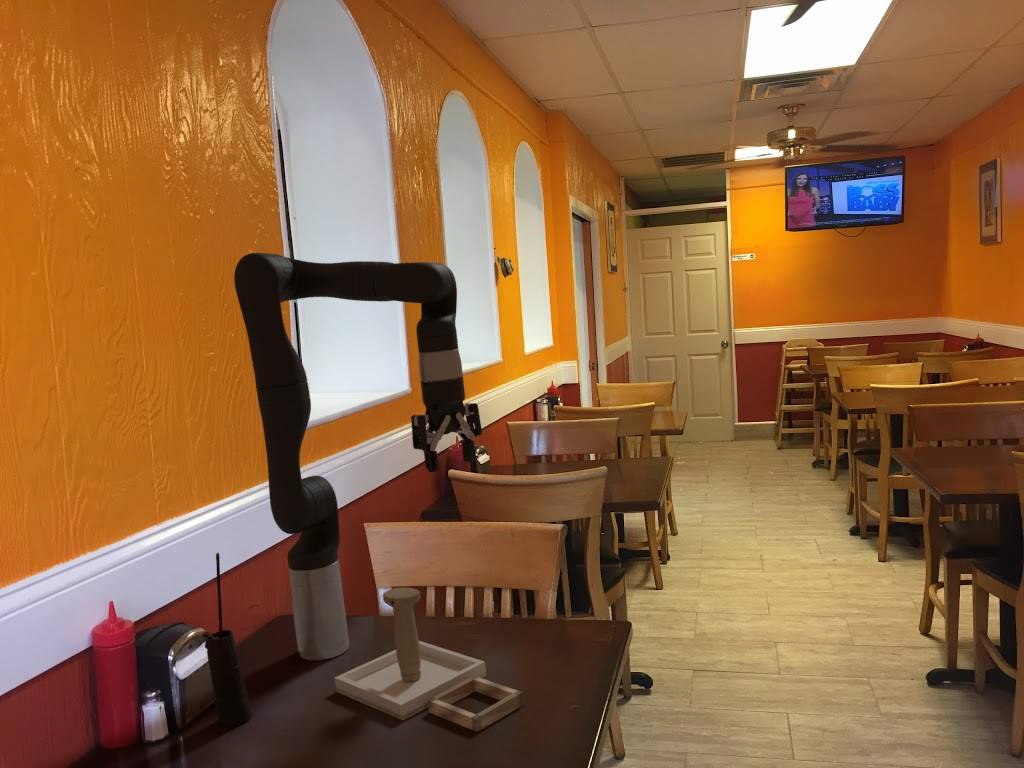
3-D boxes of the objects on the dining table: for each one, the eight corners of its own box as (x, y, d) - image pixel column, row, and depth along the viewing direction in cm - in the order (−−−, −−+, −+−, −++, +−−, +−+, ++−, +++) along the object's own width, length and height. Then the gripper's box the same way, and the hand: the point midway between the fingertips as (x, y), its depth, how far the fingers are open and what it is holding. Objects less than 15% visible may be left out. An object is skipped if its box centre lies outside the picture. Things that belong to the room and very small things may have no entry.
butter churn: (185, 729, 138) (160, 558, 135) (232, 702, 146) (209, 541, 143) (223, 739, 133) (198, 563, 130) (270, 711, 141) (247, 544, 138)
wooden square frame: (429, 712, 135) (427, 700, 135) (475, 687, 142) (474, 675, 142) (477, 732, 127) (475, 719, 127) (523, 704, 134) (522, 692, 134)
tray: (336, 691, 146) (334, 677, 145) (418, 653, 158) (417, 639, 158) (403, 720, 133) (401, 705, 133) (486, 676, 146) (484, 661, 146)
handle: (417, 688, 142) (406, 600, 141) (387, 681, 146) (377, 595, 144) (435, 675, 146) (425, 590, 145) (406, 670, 150) (396, 586, 148)
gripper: (457, 371, 160) (466, 457, 161) (396, 382, 150) (407, 473, 151) (485, 370, 154) (494, 459, 156) (424, 381, 144) (434, 477, 146)
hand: (451, 466), depth 154 cm, fingers open, 8 cm apart
